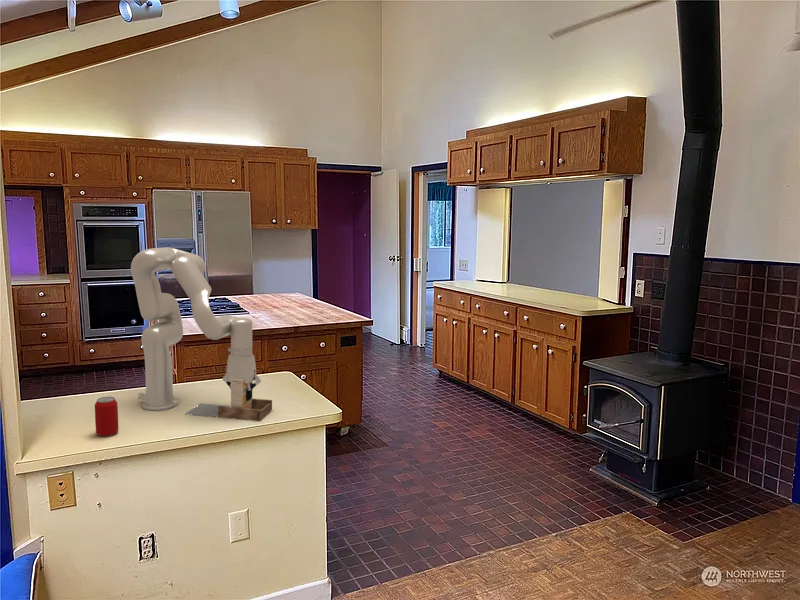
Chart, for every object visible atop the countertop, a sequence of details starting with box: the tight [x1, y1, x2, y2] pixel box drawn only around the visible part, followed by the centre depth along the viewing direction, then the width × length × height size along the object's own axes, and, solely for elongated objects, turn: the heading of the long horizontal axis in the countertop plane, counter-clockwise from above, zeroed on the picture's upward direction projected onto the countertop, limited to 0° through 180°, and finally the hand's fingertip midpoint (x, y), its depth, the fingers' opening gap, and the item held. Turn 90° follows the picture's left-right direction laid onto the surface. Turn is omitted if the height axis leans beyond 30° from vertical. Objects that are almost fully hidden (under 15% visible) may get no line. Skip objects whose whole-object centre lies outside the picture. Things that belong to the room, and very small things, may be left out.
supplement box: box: [230, 378, 253, 408], centre depth 217 cm, size 8×5×13 cm, turn 168°
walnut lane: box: [217, 397, 273, 422], centre depth 218 cm, size 16×12×4 cm
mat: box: [184, 402, 230, 418], centre depth 220 cm, size 12×12×1 cm
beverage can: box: [94, 396, 119, 437], centre depth 194 cm, size 7×7×12 cm
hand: (241, 398), depth 217 cm, fingers closed on supplement box, 4 cm apart
